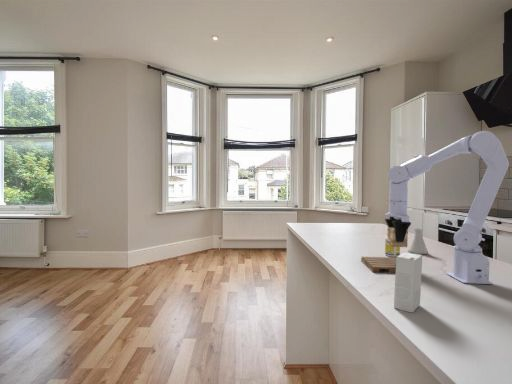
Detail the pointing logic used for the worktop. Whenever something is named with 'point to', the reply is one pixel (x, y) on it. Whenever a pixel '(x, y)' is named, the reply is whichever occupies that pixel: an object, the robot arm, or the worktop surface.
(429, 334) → the worktop surface
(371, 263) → the pallet
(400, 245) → the cardboard box
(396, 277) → the skincare box
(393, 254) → the supplement bottle
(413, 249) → the flask
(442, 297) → the worktop surface
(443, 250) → the worktop surface
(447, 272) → the robot arm
